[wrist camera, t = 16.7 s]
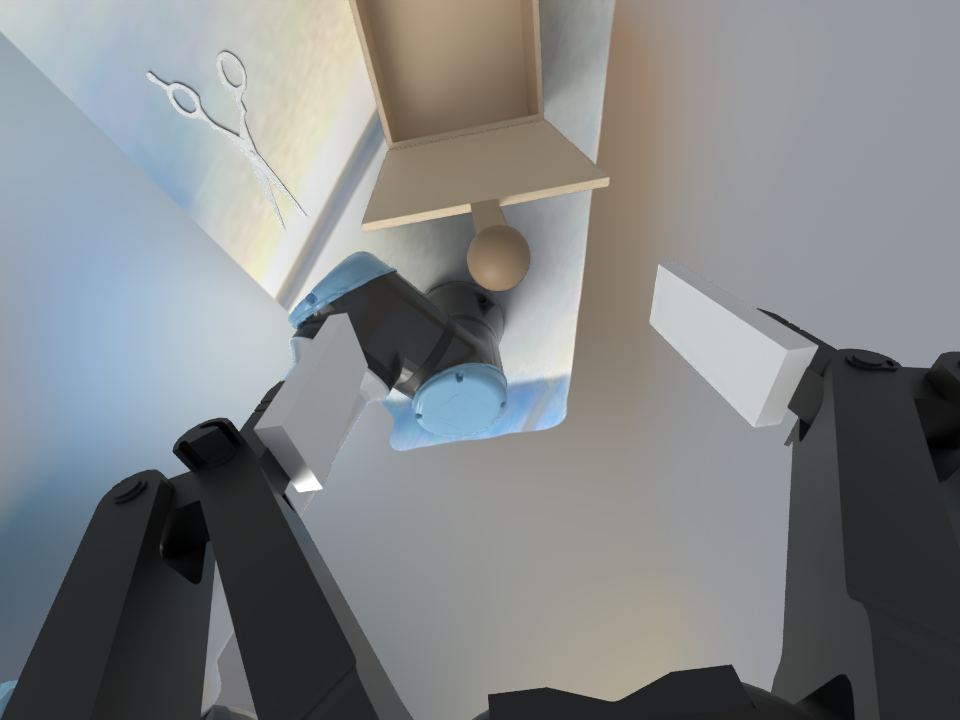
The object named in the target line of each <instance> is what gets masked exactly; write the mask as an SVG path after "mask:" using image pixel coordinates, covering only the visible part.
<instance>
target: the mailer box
mask: <svg viewBox="0 0 960 720" xmlns="http://www.w3.org/2000/svg"><path fill="white" fill-rule="evenodd" d="M349 3H350V7H351V10H352V14H353V18H354V22H355V25H356V29H357V33H358V37H359V40H360V44H361V48H362V51H363V55H364V59H365V63H366V66H367V70H368V74H369V78H370V81H371V85H372V89H373V92H374V96H375V100H376V104H377V107H378V111H379V115H380V119H381V122H382V126H383V130H384V134H385V137H386V141H387V145H388V148H389V150H392V149H397V148H402V147H407V146H412V145H418V144H423V143H428V142H433V141H438V140H443V139H448V138H453V137H458V136H463V135H468V134H473V133H478V132H483V131H488V130H494V129H499V128H504V127H509V126H514V125H519V124H524V123H529V122H534V121H539V120H544V105H543V84H542V62H541V41H540V20H539V0H349Z"/></svg>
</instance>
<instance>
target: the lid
mask: <svg viewBox="0 0 960 720" xmlns="http://www.w3.org/2000/svg"><path fill="white" fill-rule="evenodd" d="M606 186H609V176H608V175H607V174H606V173H604V172H603V171H602V170H601V169H600V168H599V167H597V165H596V164H594V163H593V162H592V161H591V160H590V159H589V158H588V157H587V156H586V155H584V154H583V153H582V152H581V151H580V150H579V149H578V148H577V147H576V146H575V145H573V144H572V143H571V142H570V141H569V140H568V139H567V138H566V137H565V136H563V135H562V134H561V133H560V132H559V131H558V130H557V129H556V128H555V127H554V126H552V125H551V124H550V123H549V122H548V121H547V120H542V121H537V122H532V123H527V124H521V125H516V126H511V127H506V128H501V129H496V130H491V131H486V132H481V133H476V134H471V135H466V136H461V137H456V138H451V139H445V140H440V141H435V142H430V143H425V144H420V145H415V146H410V147H405V148H400V149H395V150H390V151H387V153H386V156H385V159H384V162H383V165H382V167H381V170H380V173H379V176H378V179H377V181H376V184H375V187H374V190H373V193H372V195H371V198H370V201H369V204H368V206H367V209H366V212H365V215H364V218H363V220H362V223H361V225H362V228H363V230H364V232H367V231H372V230H378V229H383V228H388V227H394V226H399V225H404V224H409V223H415V222H420V221H425V220H431V219H436V218H441V217H447V216H452V215H457V214H462V213H468V212H472V217H473V222H474V228H475V233H476V236H475V237H474V238H473V240H472V241H471V243H470V245H469V248H468V252H467V265H468V268H469V271H470V274H471V275H472V277H473V278H474V280H475V281H476V282H477V283H478V284H480V285H481V286H482V287H484V288H486V289H489V290H493V291H503V290H507V289H510V288H512V287H514V286H515V285H517V284H518V283H519V282H520V281H521V280H522V279H523V278H524V276H525V275H526V273H527V271H528V268H529V264H530V251H529V247H528V244H527V242H526V240H525V239H524V237H523V236H522V235H521V234H520V233H519V232H518V231H516V230H515V229H513V228H511V227H508V226H507V225H506V223H505V220H504V217H503V214H502V211H501V208H500V206H505V205H510V204H515V203H521V202H526V201H531V200H537V199H542V198H547V197H553V196H558V195H563V194H568V193H574V192H579V191H584V190H590V189H595V188H600V187H606Z"/></svg>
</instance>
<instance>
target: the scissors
mask: <svg viewBox="0 0 960 720" xmlns="http://www.w3.org/2000/svg"><path fill="white" fill-rule="evenodd" d="M226 58H231V59H233V60H234V61H235V62H236V63H237V64H238V66H239V68H240V70H241V72H242V84H241V85H240V86H239V87H237V88H236V87H234V86H232V85H231V84H230V83H229V82H228V80H227V78H226V76H225V74H224V72H223V67H222V61H223V60H224V59H226ZM216 65H217V71H218V75H219V77H220V80H221V83H222V84H223V85H225V86H226V87H227V88H228V89H230V90H231V91H232V92H234V95H235V98H236V100H237V102H238V104H239V108H240V128H239V133H240V137H239V136H237V135H235V134H233V133H231V132H230V131H228V130H225V129H223V128H221V127H220V126H218V125H216V124H215V123H214V122H212V121H211V120H210V119H209V118H208V116H207V115H206V114H205V112H204V111H203V110H202V107H201V102H200V98H199V96H198V95H197V94H196V93H195V92H194V91H193V90H191V89H190V88H188V87H186V86H184V85H181V84H179V83H173V84H171V85H169V86H168V85H167V84H165V83H163V82H162V81H160V80H158V79H157V77H156V76H154V75H153V74H152V73H150V72H149V73H148V74H147V77H148V78H149V80H151V81H153V82H155V83H157V84H158V85H160V86H161V87H162V88H164V89H165V90H167V91H168V92H167V95H168V97H169V99H170V101H171V103H172V105H173V106H174V107H175V108H176V109H177V110H178V112H179V113H181V114H183V115H185V116H187V117H189V118H200V119H202V120H204V121H207V122H208V123H209V125H210V126H211V127H212V128H213V129H214V130H220V131H221V132H223V133H225V134H227V135H228V136H229V137H230V139H231V140H232V141H233V142H234V143H235V144H236V145H237V147H238V148H239V149H240V150H241V151H242V152H243V153H244V154H245V155H246V156H247V157H248V158H249V160H250V162H251V164H252V166H253V168H254V170H255V172H256V175H257V177H258V179H259V181H260V183H261V185H262V187H263V189H264V191H265V193H266V195H267V197H268V199H269V201H270V203H271V205H272V207H273V208H274V210H275V212H276V214H277V216H278V218H279V220H280V222H281V224H282V225H283V222H282V219H281V216H280V214H279V211H278V208H277V205H276V202H275V200H274V197H273V195H272V192H271V189H270V186H269V183H268V180H267V177H268V178H269V179H270V180H271V181H272V182H273V183H274V184H275V185H276V186H277V187H278V188H279V189H280V190H281V191H282V192H283V193H284V194H285V195H286V196H287V197H288V198H289V199H290V200H291V201H292V202H293V203H294V204H295V205H296V206H297V207H298V208H299V209H300V210H301V211H302V209H301V208H300V207H299V205H298V204H297V203H296V201H295V200H294V199H293V197H292V196H291V195H290V193H289V192H288V191H287V189H286V188H285V187H284V185H283V184H282V183H281V182H280V180H279V179H278V178H277V176H276V175H275V174H274V173H273V171H272V170H271V169H270V168H269V166H268V165H267V164H266V163H265V161H264V160H263V159H262V158H261V157H260V155H259V154H258V153H257V151H256V148H255V146H254V144H253V142H252V139H251V137H250V135H249V132H248V129H247V126H246V124H245V115H246V110H245V108H244V106H243V103H242V101H241V99H242V96H243V93H244V91H245V89H246V84H247V77H246V73H245V69H244V68H243V66H242V64H241V62H240V61H239V60H238V59H237V58H236V57H235V56H234V55H232V54H230V53H228V52H222V53H220V54H219V55H218V58H217V61H216ZM178 88H181V89H183V90H185V91H186V92H187V93H188V94H189V95H190V96H191V97H192V99H193V101H194V102H195V104H196V111H195V112H193V113H188V112H186V111H185V110H183V109H182V108H181V107H180V106H179V104H178V103H177V102H176V100H175V98H174V91H175V89H178ZM266 176H267V177H266ZM302 212H303V211H302ZM303 213H304V212H303ZM304 214H305V213H304ZM283 227H284V225H283ZM284 229H285V228H284Z"/></svg>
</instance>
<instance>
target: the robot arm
mask: <svg viewBox="0 0 960 720" xmlns="http://www.w3.org/2000/svg"><path fill="white" fill-rule="evenodd" d="M289 322H290V323H291V324H292V326H293V327H294V328H295V329H298V330H297V332H296V333H295V334H294V336H293V337H292V338H291V340H290V341H289V348H290V352H291V356H292V360H293V364H292V365H291V367H290V368H289V369H288V371H287V372H286V373H285V375H284V376H283V378H282V379H281V380H280V382H279V383H278V384H276V385H275V386H274V387H273V388H271V389H270V390H269V391H268V392H267V394H266V395H265V396H264V398H263V399H262V400H261V404H259V405H258V406H257V408H256V409H255V410H254V411H255V412H254V413H252V415H251V416H250V417H249V419H248V420H247V422H246V423H245V424H244V426H243V427H242V429H241V430H240V431H238V430H237V429H236V427H235V426H234V425H233V423H232V422H231V421H230V420H228V419H227V418H216V419H211V420H208V421H206V422H203V423H201V424H198V425H197V426H195V427H194V428H192V429H190V430H188V431H187V432H186V433H185V434H184V435H183V436H181V437H180V438H179V439H178V441H177V442H176V443H175V445H174V447H173V453H174V454H175V455H176V456H177V457H178V458H179V459H180V460H181V461H182V462H183V463H184V464H185V465H186V466H187V467H188V468H189V469H190V470H191V471H189V472H187V473H184V474H181V475H178V476H176V477H173V478H170V479H167V478H166V477H165V476H164V475H163V474H162V473H161V472H159V471H158V470H146V471H143V472H139V473H137V474H134V475H132V476H130V477H128V478H126V479H124V480H122V481H121V482H120V483H118V484H116V485H115V486H114V487H113V488H112V489H111V490H110V491H109V492H108V493H107V494H106V495H105V496H104V497H103V498H102V500H101V501H100V502H99V504H98V506H97V508H96V510H95V512H94V515H93V517H92V519H91V521H90V523H89V526H88V528H87V530H86V532H85V534H84V537H83V539H82V541H81V543H80V545H79V548H78V550H77V552H76V554H75V556H74V559H73V561H72V563H71V565H70V567H69V570H68V572H67V574H66V576H65V578H64V581H63V583H62V585H61V587H60V589H59V592H58V594H57V596H56V598H55V600H54V603H53V605H52V607H51V609H50V611H49V614H48V616H47V618H46V620H45V623H44V625H43V627H42V629H41V631H40V633H39V636H38V638H37V640H36V642H35V645H34V647H33V649H32V651H31V653H30V656H29V658H28V660H27V662H26V665H25V667H24V669H23V671H22V673H21V675H20V677H19V680H17V681H9V682H6V683H3V684H1V685H0V720H414V719H413V718H412V716H411V715H410V714H409V712H408V711H407V709H406V708H405V706H404V705H403V703H402V701H401V699H400V698H399V696H398V694H397V692H396V691H395V689H394V687H393V685H392V683H391V682H390V680H389V678H388V676H387V674H386V672H385V670H384V669H383V667H382V665H381V664H380V661H379V660H378V658H377V656H376V654H375V652H374V651H373V649H372V647H371V645H370V643H369V641H368V640H367V638H366V636H365V634H364V632H363V631H362V629H361V627H360V625H359V623H358V622H357V620H356V618H355V616H354V614H353V613H352V611H351V609H350V607H349V605H348V604H347V602H346V600H345V598H344V596H343V595H342V593H341V591H340V589H339V587H338V585H337V583H336V582H335V580H334V578H333V576H332V574H331V573H330V571H329V569H328V567H327V565H326V564H325V562H324V560H323V558H322V556H321V555H320V553H319V551H318V549H317V547H316V545H315V544H314V542H313V540H312V538H311V536H310V535H309V533H308V531H307V529H306V527H305V525H304V524H303V522H302V520H301V516H302V514H303V512H304V511H305V509H306V507H307V506H308V504H309V502H310V500H311V499H312V497H313V496H314V494H315V492H316V490H319V489H323V487H324V485H325V482H326V479H327V476H328V474H329V471H330V468H331V465H332V463H333V461H334V460H335V458H336V456H337V455H338V453H339V451H340V449H341V447H342V446H343V444H344V442H345V441H346V439H347V437H348V436H349V434H350V432H351V431H352V429H353V427H354V426H355V424H356V422H357V420H358V419H359V417H360V415H361V414H362V412H363V410H364V409H365V407H366V405H367V404H368V403H370V402H372V401H376V400H380V399H383V398H386V397H387V396H388V395H389V393H390V391H391V390H392V388H395V389H396V390H398V391H399V392H401V393H403V394H404V395H406V396H407V397H409V398H411V399H412V400H413V401H412V409H413V411H414V413H415V417H416V419H417V421H418V422H419V424H420V425H421V426H422V427H423V428H425V429H426V430H428V431H430V432H432V433H434V434H437V435H441V436H446V437H460V436H463V435H472V434H475V433H478V432H480V431H482V430H484V429H486V428H488V427H489V426H490V425H492V424H493V423H494V422H495V421H496V420H497V419H498V418H499V417H500V416H501V414H502V413H503V411H504V409H505V406H506V402H507V390H506V387H507V380H506V377H505V375H504V372H503V367H502V362H501V357H500V353H499V348H498V345H499V343H500V341H501V338H502V335H503V328H504V323H503V316H502V313H501V309H500V307H499V304H498V303H497V301H496V299H495V298H494V297H493V296H492V295H491V294H490V293H489V292H488V291H486V290H485V289H484V288H482V287H480V286H478V285H475V284H472V283H467V282H451V283H446V284H443V285H440V286H438V287H436V288H435V289H433V290H432V291H430V292H429V293H428V294H427V295H424V294H423V293H422V292H421V291H419V290H418V289H417V288H416V287H414V286H413V285H412V284H411V283H409V282H408V281H407V280H405V279H404V278H403V277H402V276H400V275H399V274H398V273H397V270H396V269H394V268H390V267H389V266H388V265H386V264H385V263H383V262H382V261H381V260H379V259H378V258H377V257H375V256H374V255H372V254H370V253H368V252H356V253H354V254H352V255H350V256H349V257H347V258H346V259H345V260H343V261H342V262H341V263H340V264H339V265H338V266H336V267H335V268H334V269H333V270H332V271H331V272H330V273H329V274H328V275H327V276H326V277H324V278H323V279H322V280H321V281H320V282H319V283H318V284H317V285H316V286H315V287H314V289H313V290H312V291H311V293H310V294H308V295H307V296H306V297H305V299H303V300H302V301H301V302H300V303H299V304H298V306H297V307H296V308H295V309H294V310H293V312H292V313H291V315H290V317H289ZM650 324H651V325H652V326H653V327H654V328H655V329H656V330H657V331H658V332H659V333H660V334H661V335H662V336H663V337H664V338H665V339H666V340H667V341H668V342H669V343H670V344H671V345H672V346H673V347H674V348H675V349H676V350H677V351H678V352H679V353H680V354H681V355H682V356H683V357H684V358H685V359H686V360H687V361H688V362H689V363H690V364H691V365H692V366H693V367H694V368H695V369H696V370H697V371H698V372H699V373H700V374H701V375H702V376H703V377H704V378H705V379H706V380H707V381H708V382H709V383H710V384H711V385H712V386H713V387H714V388H715V389H716V390H717V391H718V392H719V393H720V394H721V395H722V396H723V397H724V398H725V399H726V400H727V401H728V402H729V403H730V404H731V405H732V406H733V407H734V408H735V409H736V410H737V411H738V412H739V413H740V414H741V415H742V416H743V417H744V418H745V419H746V420H747V421H748V422H749V423H750V424H751V425H752V426H753V427H762V426H769V425H776V424H780V423H781V421H782V419H783V417H784V415H785V413H786V411H787V409H788V408H789V409H790V410H791V411H792V412H794V413H795V414H796V415H797V416H798V419H797V421H796V423H795V425H794V427H793V429H792V431H791V433H790V435H789V436H788V439H787V440H786V442H785V444H784V445H786V446H789V445H790V444H791V442H793V451H792V472H791V492H790V512H789V531H788V551H787V571H786V590H785V611H784V631H783V649H782V656H781V661H780V664H779V667H778V669H777V672H776V675H775V677H774V681H773V686H772V690H771V693H770V692H768V691H765V690H763V689H761V688H758V687H755V686H752V685H749V684H747V683H743V682H741V681H740V679H739V677H738V675H737V673H736V672H735V670H734V668H733V666H732V665H724V666H716V667H708V668H700V669H692V670H684V671H675V672H670V673H669V674H667V675H665V676H663V677H661V678H660V679H658V680H656V681H654V682H652V683H651V684H649V685H647V686H645V687H643V688H641V689H639V690H638V691H636V692H634V693H632V694H630V695H629V696H627V697H625V698H623V699H621V700H619V701H615V702H610V701H605V700H601V699H596V698H592V697H587V696H582V695H578V694H574V693H570V692H565V691H561V690H556V689H551V688H547V687H546V688H538V689H530V690H522V691H514V692H505V693H497V694H489V695H488V701H489V710H487V711H485V712H483V713H481V714H480V715H478V716H477V717H475V718H474V719H473V720H960V352H947V353H943V354H941V355H940V356H939V357H938V359H937V360H936V361H935V363H934V364H933V366H932V367H931V368H911V367H902V366H901V365H900V364H899V363H898V362H896V361H895V360H893V359H891V358H889V357H887V356H884V355H881V354H879V353H875V352H871V351H867V350H860V349H840V350H837V349H835V348H833V347H832V346H830V345H828V344H826V343H825V342H823V341H821V340H819V339H818V338H816V337H814V336H813V335H811V334H809V333H807V332H806V331H804V330H800V328H799V327H797V326H795V325H794V324H792V323H788V321H786V320H785V319H783V318H781V317H780V316H778V315H776V314H774V313H771V312H768V311H765V310H762V309H758V308H754V307H753V306H751V305H750V304H748V303H746V302H744V301H742V300H741V299H739V298H738V297H736V296H734V295H733V294H731V293H729V292H728V291H726V290H724V289H723V288H721V287H719V286H718V285H716V284H714V283H712V282H711V281H709V280H708V279H706V278H704V277H703V276H701V275H699V274H698V273H696V272H694V271H693V270H691V269H689V268H687V267H686V266H684V265H683V264H681V263H679V262H678V261H676V262H669V263H663V264H659V265H658V271H657V277H656V284H655V290H654V296H653V303H652V310H651V316H650ZM234 631H235V634H236V638H237V642H238V646H239V650H240V653H241V657H242V661H243V665H244V668H245V672H246V676H247V680H248V684H249V687H250V691H251V695H252V699H253V703H254V706H255V710H256V714H257V715H255V714H253V713H250V712H248V711H245V710H243V709H239V708H233V707H226V706H221V705H214V703H215V701H216V700H217V698H218V696H219V694H220V690H221V680H220V675H219V671H218V666H217V659H218V657H219V655H220V654H221V652H222V651H223V649H224V647H225V645H226V644H227V642H228V641H229V639H230V637H231V635H232V634H233V632H234Z"/></svg>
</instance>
